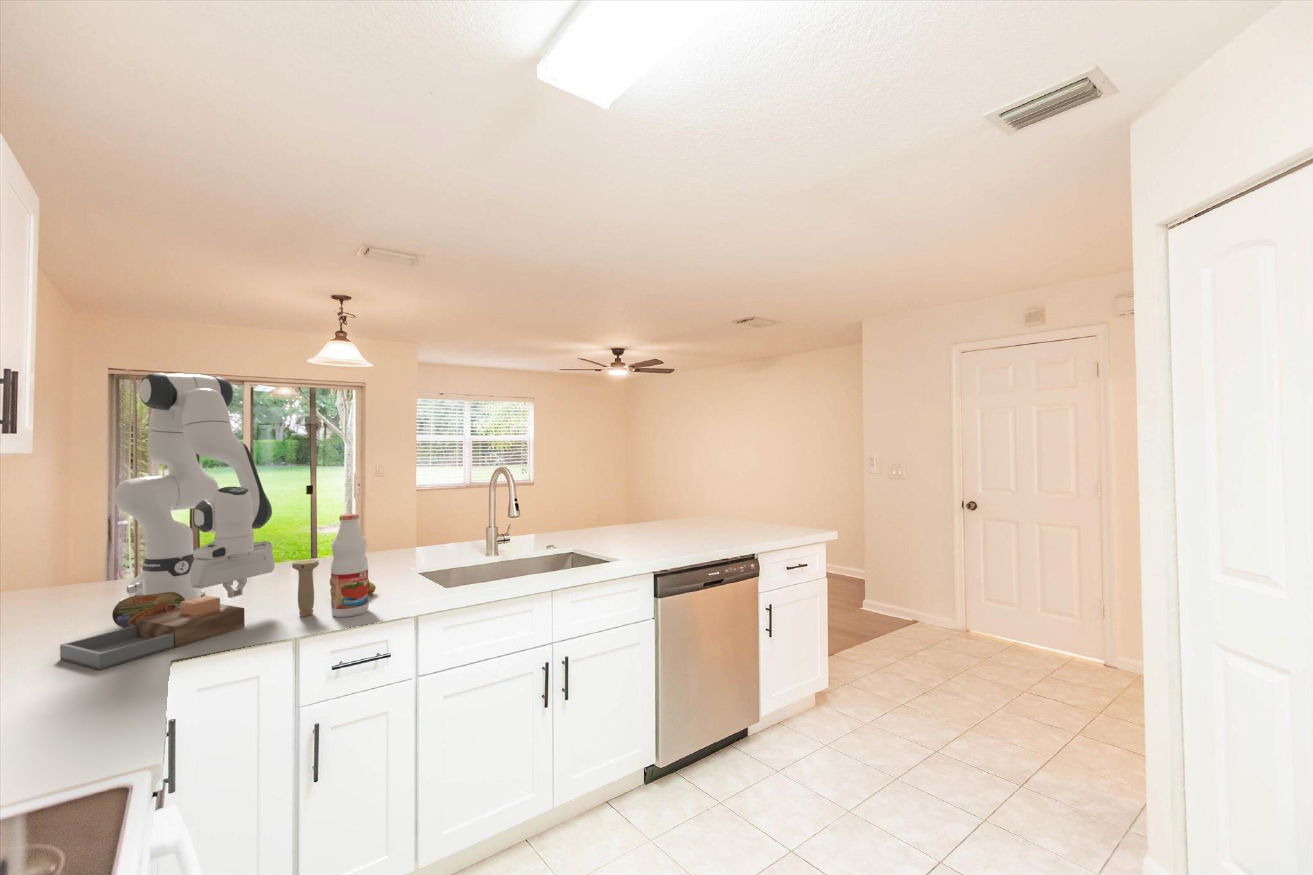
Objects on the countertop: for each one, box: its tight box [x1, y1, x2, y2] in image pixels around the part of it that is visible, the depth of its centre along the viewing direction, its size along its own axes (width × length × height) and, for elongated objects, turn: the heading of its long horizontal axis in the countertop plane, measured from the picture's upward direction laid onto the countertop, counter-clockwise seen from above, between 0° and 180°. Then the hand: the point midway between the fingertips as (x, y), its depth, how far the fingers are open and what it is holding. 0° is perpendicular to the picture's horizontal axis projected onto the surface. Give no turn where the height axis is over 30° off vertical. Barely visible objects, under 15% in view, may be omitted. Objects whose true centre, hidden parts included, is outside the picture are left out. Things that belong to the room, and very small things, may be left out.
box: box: [59, 626, 175, 671], centre depth 135 cm, size 16×14×4 cm
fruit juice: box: [330, 513, 370, 618], centre depth 165 cm, size 9×9×28 cm
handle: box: [291, 559, 320, 617], centre depth 163 cm, size 5×6×15 cm
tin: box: [111, 592, 185, 629], centre depth 156 cm, size 15×3×8 cm, turn 117°
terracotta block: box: [180, 595, 221, 616], centre depth 151 cm, size 6×6×3 cm
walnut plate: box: [136, 603, 245, 648], centre depth 149 cm, size 16×16×5 cm
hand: (235, 596), depth 159 cm, fingers closed
